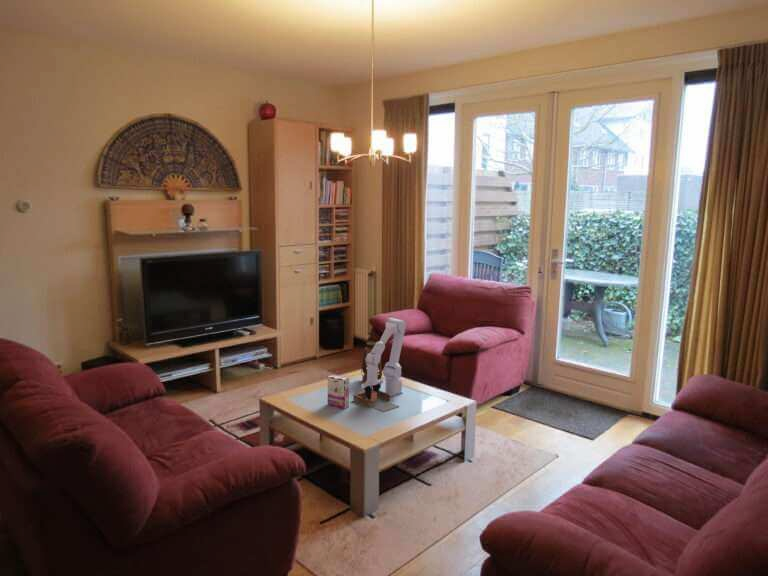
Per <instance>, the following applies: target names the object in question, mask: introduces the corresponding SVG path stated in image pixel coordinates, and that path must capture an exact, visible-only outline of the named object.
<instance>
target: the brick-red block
mask: <svg viewBox="0 0 768 576" xmlns="http://www.w3.org/2000/svg"><path fill="white" fill-rule="evenodd" d="M366 400H368V401H370V403H373V402H377V401H378V396H377V392H376V391H374V390H372V391H371V398H370V399H367V398H366Z"/></svg>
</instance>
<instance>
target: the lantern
mask: <svg viewBox="0 0 768 576" xmlns="http://www.w3.org/2000/svg"><path fill="white" fill-rule="evenodd" d="M370 337H374V335H373V334H372V335H371V336H370ZM376 342H377V341H376ZM376 342H375V341H367V342H366V346H365V347H364V349H363V352H362V360H361V365H360V370H361V371H360V373H361V376H362V379H361V381H360V383H361V384H364V383H365V382H367V367H368V366H367V363H366V361H365V358H366V356H367V354H369V353H371V351H372V349H373V348H374V346H375V344H376ZM382 365H383V364H382V357H381V358H380V362H379V364H378V377H377V380H378V379H382V377H383V367H382ZM380 385H382V384H381V383H380Z"/></svg>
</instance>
